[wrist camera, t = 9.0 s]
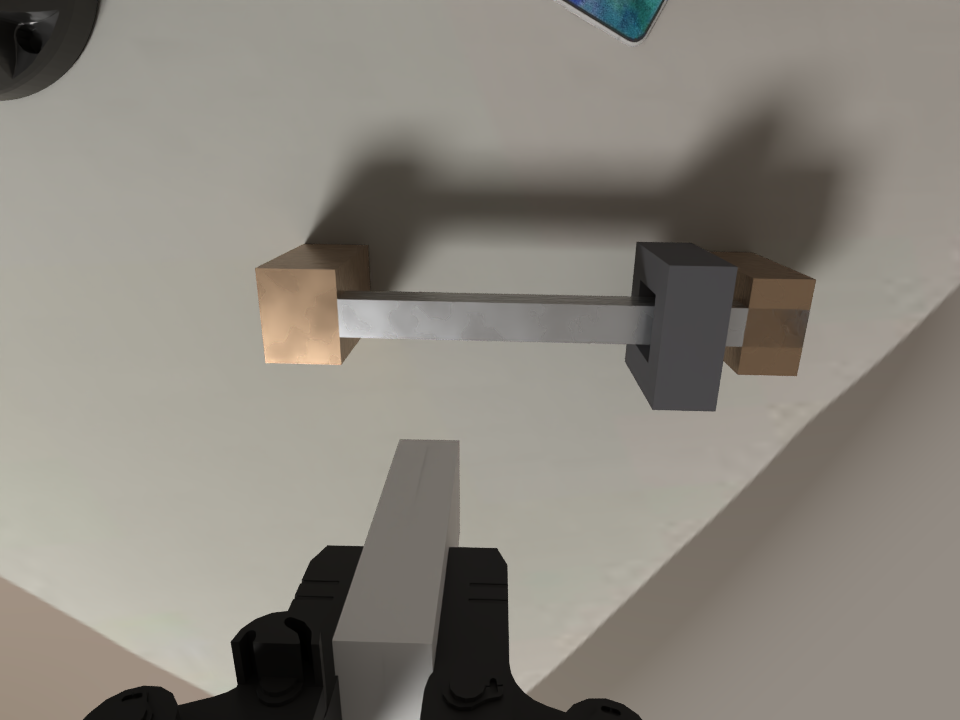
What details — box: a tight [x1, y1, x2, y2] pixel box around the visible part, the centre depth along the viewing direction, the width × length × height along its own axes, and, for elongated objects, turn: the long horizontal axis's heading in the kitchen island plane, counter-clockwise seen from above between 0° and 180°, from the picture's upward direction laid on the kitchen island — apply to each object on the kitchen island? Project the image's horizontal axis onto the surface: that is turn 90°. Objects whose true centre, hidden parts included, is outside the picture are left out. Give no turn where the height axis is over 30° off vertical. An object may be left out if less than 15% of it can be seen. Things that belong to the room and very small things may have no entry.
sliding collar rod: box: [255, 244, 816, 376], centre depth 34 cm, size 5×28×8 cm, turn 89°
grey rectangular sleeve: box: [625, 242, 738, 411], centre depth 31 cm, size 7×3×7 cm, turn 179°
